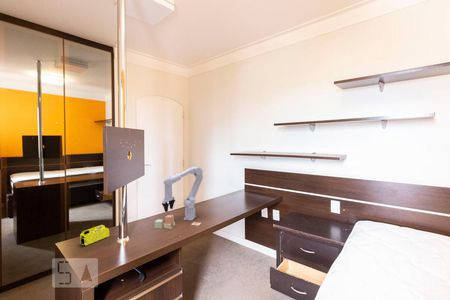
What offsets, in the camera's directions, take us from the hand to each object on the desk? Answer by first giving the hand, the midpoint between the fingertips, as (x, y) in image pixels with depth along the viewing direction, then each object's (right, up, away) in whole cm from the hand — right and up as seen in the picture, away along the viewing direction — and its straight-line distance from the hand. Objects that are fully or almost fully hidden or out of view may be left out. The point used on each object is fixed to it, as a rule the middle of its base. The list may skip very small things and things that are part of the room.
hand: (168, 210), depth 174 cm
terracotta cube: (+3, -7, -9) cm, 12 cm away
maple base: (+3, -11, -9) cm, 14 cm away
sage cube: (-5, -10, -8) cm, 14 cm away
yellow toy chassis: (-41, -12, -30) cm, 52 cm away
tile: (+22, -10, -4) cm, 25 cm away
